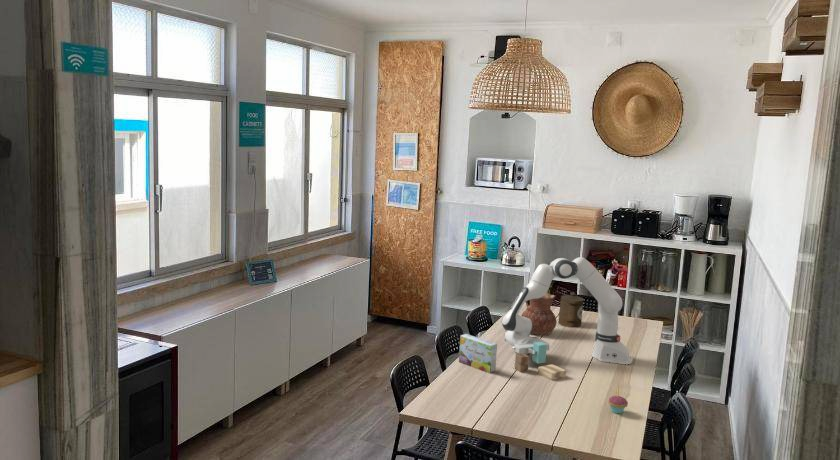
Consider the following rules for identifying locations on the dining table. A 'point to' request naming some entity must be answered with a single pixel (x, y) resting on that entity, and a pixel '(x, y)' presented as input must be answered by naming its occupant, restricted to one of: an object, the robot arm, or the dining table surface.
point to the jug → (541, 314)
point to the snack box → (478, 353)
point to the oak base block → (552, 372)
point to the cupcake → (617, 403)
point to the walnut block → (521, 362)
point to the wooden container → (570, 310)
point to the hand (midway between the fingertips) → (540, 352)
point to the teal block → (539, 352)
